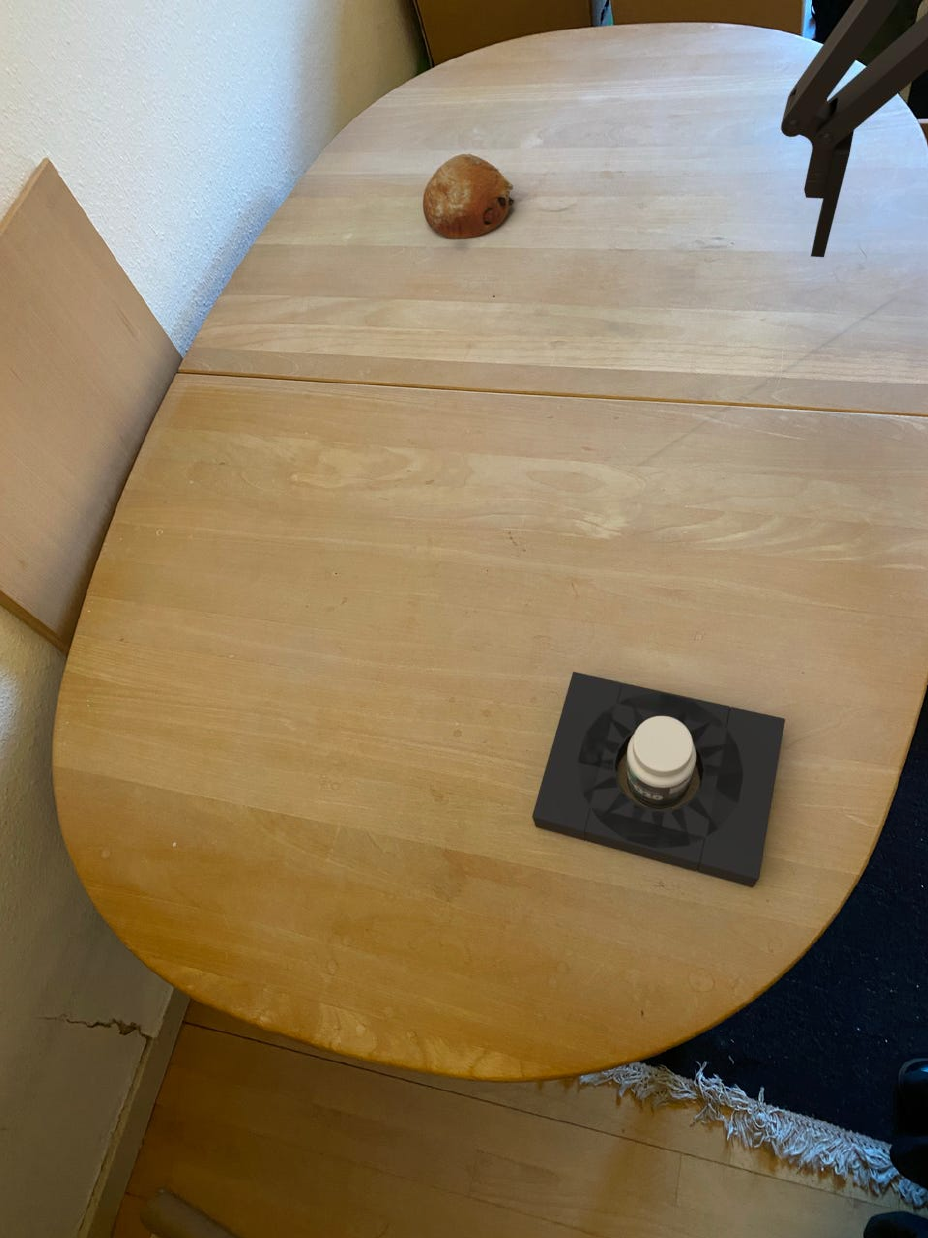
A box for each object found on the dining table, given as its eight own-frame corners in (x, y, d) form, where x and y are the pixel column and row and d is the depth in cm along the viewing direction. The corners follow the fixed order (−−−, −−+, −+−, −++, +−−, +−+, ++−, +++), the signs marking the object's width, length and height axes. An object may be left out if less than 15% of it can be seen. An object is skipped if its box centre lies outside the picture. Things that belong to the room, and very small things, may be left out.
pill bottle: (613, 772, 64) (612, 735, 57) (662, 737, 65) (667, 696, 58) (653, 822, 62) (657, 790, 55) (703, 785, 63) (714, 749, 55)
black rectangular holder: (778, 732, 64) (785, 718, 61) (752, 888, 59) (758, 879, 56) (575, 686, 68) (573, 671, 66) (535, 827, 63) (531, 816, 61)
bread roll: (465, 209, 105) (429, 152, 99) (532, 183, 98) (496, 121, 93) (436, 263, 101) (396, 206, 96) (503, 240, 94) (464, 178, 89)
